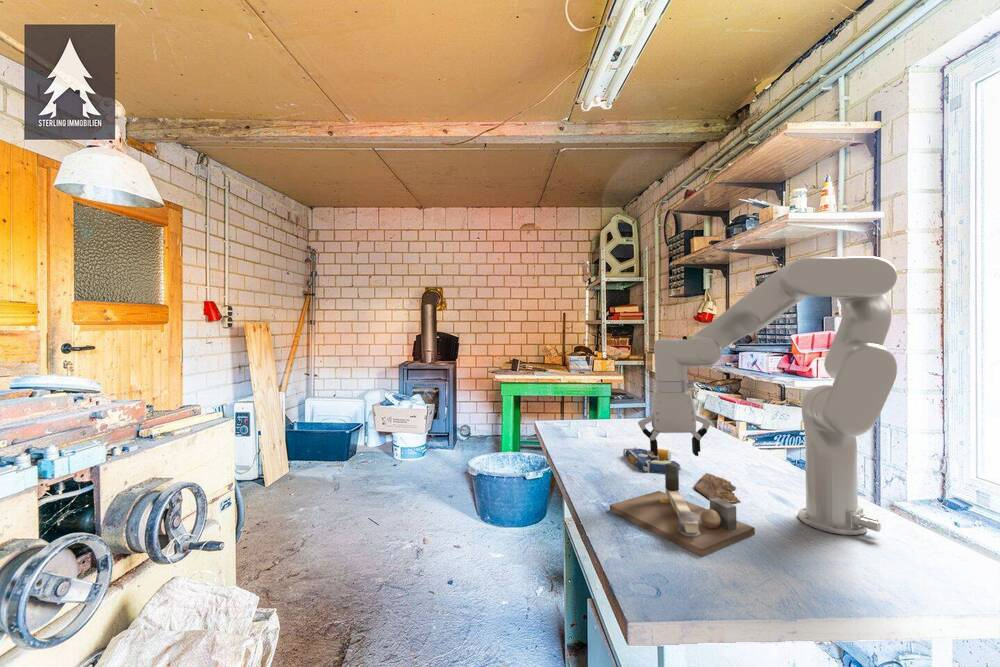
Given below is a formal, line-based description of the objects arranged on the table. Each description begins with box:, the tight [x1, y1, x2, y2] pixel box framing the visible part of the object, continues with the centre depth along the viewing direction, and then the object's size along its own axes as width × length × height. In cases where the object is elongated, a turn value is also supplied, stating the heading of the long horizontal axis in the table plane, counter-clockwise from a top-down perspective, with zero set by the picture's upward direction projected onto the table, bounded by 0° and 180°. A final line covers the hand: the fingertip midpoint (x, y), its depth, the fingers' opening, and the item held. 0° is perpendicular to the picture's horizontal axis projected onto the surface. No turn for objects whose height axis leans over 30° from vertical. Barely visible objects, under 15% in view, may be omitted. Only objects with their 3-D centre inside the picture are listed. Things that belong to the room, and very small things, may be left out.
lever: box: [664, 463, 699, 533], centre depth 102 cm, size 22×4×8 cm, turn 170°
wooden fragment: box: [693, 472, 741, 505], centre depth 124 cm, size 26×11×1 cm, turn 158°
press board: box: [609, 490, 756, 558], centre depth 103 cm, size 26×18×6 cm
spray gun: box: [622, 446, 682, 474], centre depth 147 cm, size 21×4×15 cm
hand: (675, 454), depth 111 cm, fingers open, 9 cm apart
